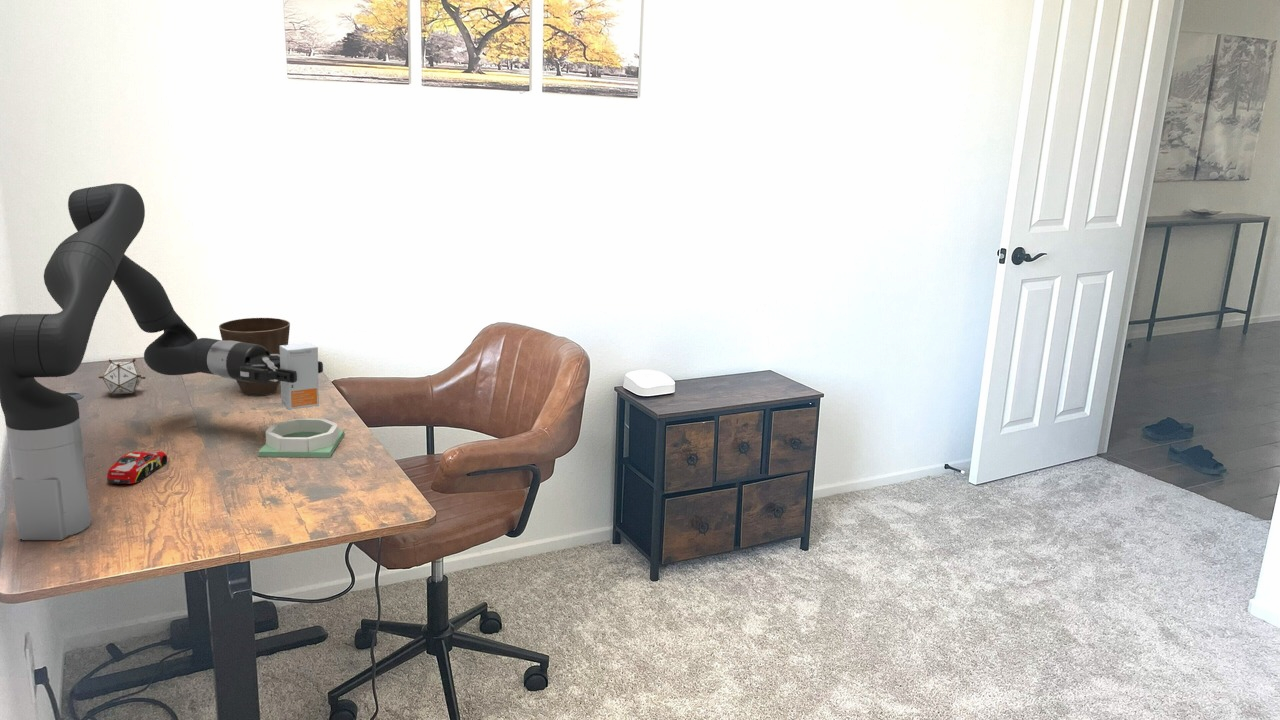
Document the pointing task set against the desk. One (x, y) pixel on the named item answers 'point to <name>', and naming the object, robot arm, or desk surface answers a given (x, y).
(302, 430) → the octagonal rimmed tray
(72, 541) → the desk surface
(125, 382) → the game die
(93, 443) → the desk surface
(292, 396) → the skincare box
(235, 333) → the plant pot
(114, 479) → the race car
